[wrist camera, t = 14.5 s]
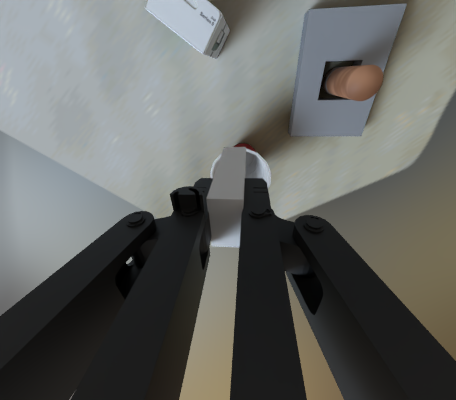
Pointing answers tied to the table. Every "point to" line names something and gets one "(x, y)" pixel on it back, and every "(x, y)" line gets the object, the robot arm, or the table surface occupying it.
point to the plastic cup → (250, 165)
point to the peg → (353, 81)
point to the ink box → (193, 23)
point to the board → (339, 51)
